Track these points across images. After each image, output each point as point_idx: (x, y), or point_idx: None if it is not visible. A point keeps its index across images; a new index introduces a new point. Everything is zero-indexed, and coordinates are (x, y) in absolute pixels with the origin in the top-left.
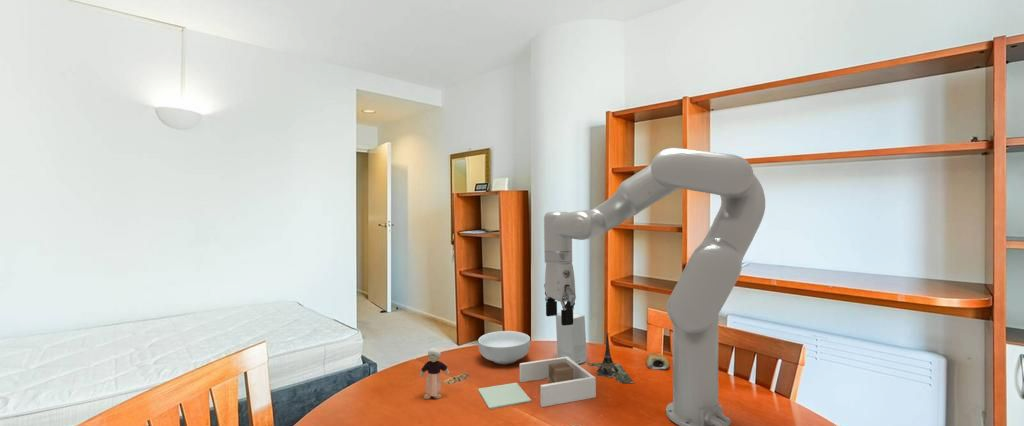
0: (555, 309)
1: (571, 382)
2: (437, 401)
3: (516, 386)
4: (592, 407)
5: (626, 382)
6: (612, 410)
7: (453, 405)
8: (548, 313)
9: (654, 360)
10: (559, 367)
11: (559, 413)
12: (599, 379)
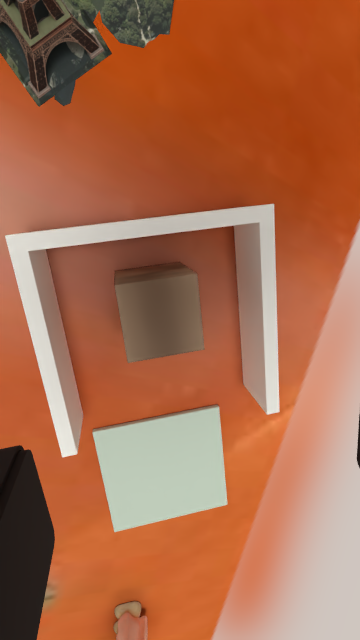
0: (17, 515)
1: (275, 309)
2: (156, 603)
3: (122, 434)
4: (298, 246)
5: (166, 7)
6: (332, 193)
7: (185, 571)
8: (49, 553)
9: None
10: (173, 328)
11: (296, 346)
12: (109, 117)
